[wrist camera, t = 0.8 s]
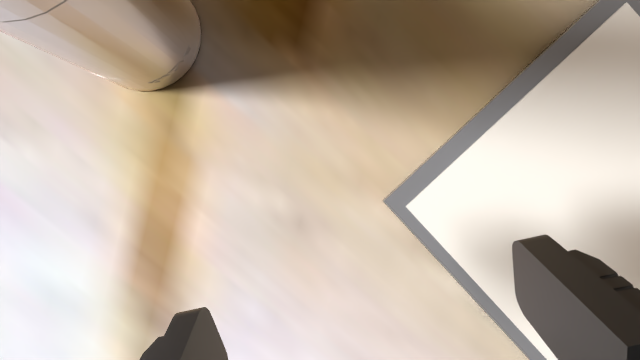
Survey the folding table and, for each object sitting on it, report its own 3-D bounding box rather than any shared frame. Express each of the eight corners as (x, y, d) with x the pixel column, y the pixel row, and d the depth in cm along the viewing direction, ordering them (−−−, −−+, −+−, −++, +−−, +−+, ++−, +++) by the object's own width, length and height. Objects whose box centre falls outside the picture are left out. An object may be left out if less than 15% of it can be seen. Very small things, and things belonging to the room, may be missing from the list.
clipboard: (382, 200, 32) (385, 202, 30) (633, -33, 32) (650, -44, 30) (561, 395, 32) (574, 406, 30) (810, 165, 32) (837, 164, 30)
